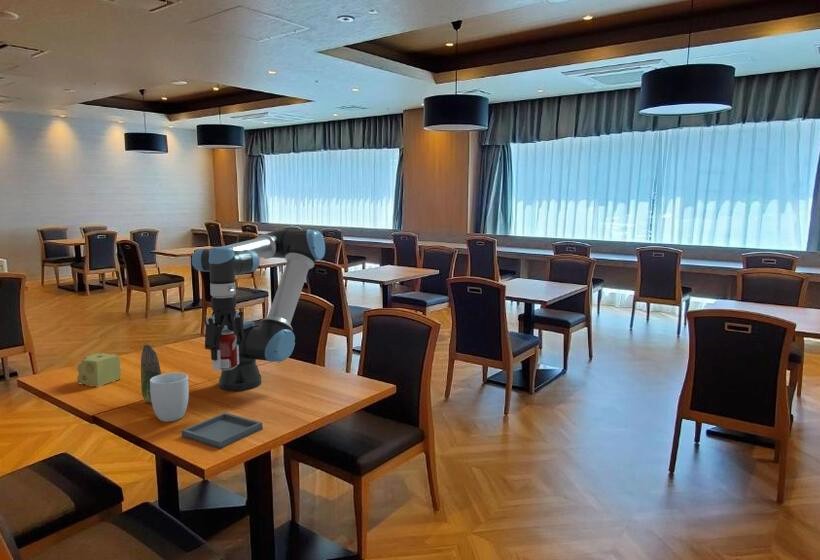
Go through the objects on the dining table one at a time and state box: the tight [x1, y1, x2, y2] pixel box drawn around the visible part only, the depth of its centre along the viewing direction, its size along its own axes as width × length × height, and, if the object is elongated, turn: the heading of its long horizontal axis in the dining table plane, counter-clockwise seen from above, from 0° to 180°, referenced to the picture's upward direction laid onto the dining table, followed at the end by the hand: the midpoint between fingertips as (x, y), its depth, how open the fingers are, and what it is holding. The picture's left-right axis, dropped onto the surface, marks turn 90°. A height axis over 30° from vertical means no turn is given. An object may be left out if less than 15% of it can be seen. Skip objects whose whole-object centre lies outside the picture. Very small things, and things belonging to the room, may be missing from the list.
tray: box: [180, 412, 263, 450], centre depth 165 cm, size 16×16×2 cm
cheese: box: [76, 352, 122, 388], centre depth 210 cm, size 10×11×10 cm
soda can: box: [218, 330, 237, 372], centre depth 180 cm, size 7×7×12 cm
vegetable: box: [140, 344, 162, 404], centre depth 190 cm, size 6×6×20 cm
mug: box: [150, 372, 190, 423], centre depth 177 cm, size 15×11×13 cm
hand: (226, 366), depth 180 cm, fingers closed on soda can, 7 cm apart
